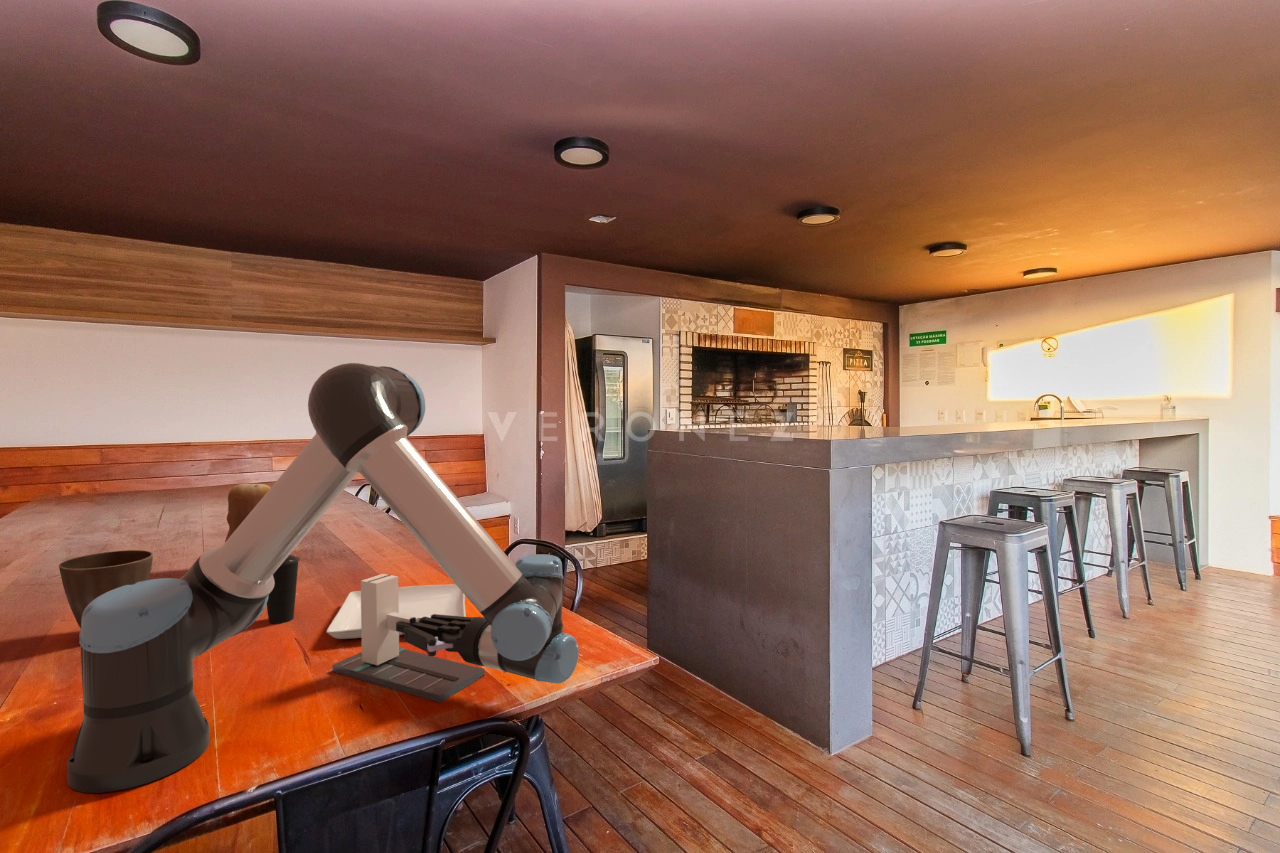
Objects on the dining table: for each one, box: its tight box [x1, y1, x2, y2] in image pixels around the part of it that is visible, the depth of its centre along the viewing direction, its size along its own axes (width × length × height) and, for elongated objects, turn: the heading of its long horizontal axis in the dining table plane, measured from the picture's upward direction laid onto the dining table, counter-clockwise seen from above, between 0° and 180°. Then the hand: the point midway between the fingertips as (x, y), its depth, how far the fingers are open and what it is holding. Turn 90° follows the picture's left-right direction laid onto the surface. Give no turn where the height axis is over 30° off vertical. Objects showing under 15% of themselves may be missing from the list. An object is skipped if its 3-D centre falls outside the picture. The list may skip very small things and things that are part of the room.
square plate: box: [325, 583, 467, 640], centre depth 138 cm, size 27×27×4 cm
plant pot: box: [58, 549, 154, 630], centre depth 128 cm, size 15×15×16 cm
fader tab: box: [360, 573, 400, 665], centre depth 113 cm, size 4×5×15 cm
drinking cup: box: [266, 553, 301, 624], centre depth 137 cm, size 8×8×20 cm
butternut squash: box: [224, 483, 271, 543], centre depth 179 cm, size 14×13×25 cm
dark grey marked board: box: [331, 647, 486, 704], centre depth 110 cm, size 26×11×1 cm, turn 64°
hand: (390, 620), depth 112 cm, fingers closed
